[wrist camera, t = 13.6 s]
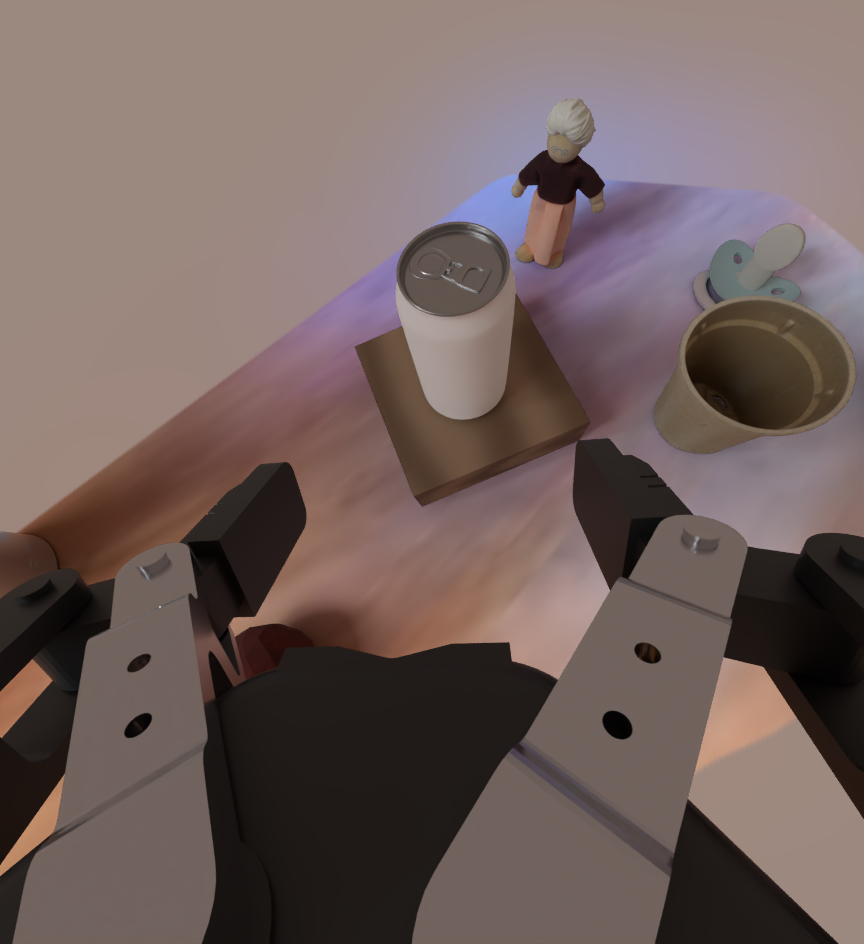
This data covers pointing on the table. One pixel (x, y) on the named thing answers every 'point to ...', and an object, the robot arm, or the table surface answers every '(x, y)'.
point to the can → (458, 315)
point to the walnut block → (479, 439)
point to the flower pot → (754, 375)
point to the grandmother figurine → (558, 184)
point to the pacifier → (753, 267)
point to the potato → (267, 646)
